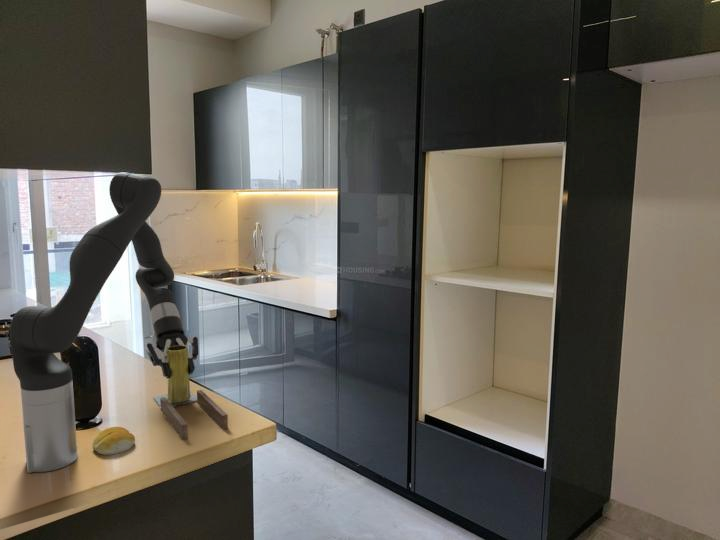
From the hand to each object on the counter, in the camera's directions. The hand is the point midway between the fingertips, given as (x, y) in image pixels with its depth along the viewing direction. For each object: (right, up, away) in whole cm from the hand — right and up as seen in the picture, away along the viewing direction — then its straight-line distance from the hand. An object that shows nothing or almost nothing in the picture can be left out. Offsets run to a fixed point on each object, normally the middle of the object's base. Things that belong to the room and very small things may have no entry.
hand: (180, 374), depth 138 cm
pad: (-3, -8, +5) cm, 10 cm away
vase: (-1, -7, +3) cm, 8 cm away
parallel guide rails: (+6, -10, -8) cm, 14 cm away
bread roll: (-7, -12, -22) cm, 26 cm away
